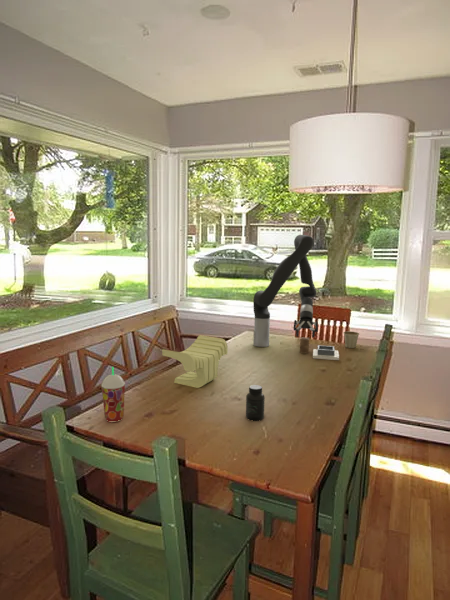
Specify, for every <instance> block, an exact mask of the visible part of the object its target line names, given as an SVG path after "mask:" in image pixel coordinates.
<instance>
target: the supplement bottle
mask: <svg viewBox="0 0 450 600" xmlns="http://www.w3.org/2000/svg"><path fill="white" fill-rule="evenodd" d="M245 397H246V398H245V418H246V419H247V420H248V419H249V420H248V421H251V420H253V421H252V422H259V420H260V421H263V419H264V418H265V403H266V402H265V398H266V397H265V394H264V393H263V387H262V386H261V385H258V384H251V385H249V388H248V393H246V396H245Z"/></svg>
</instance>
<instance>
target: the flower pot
mask: <svg viewBox="0 0 450 600" xmlns="http://www.w3.org/2000/svg"><path fill="white" fill-rule="evenodd" d="M342 333H343V336H344V344H345V345H344V346H345V348H349V349H355V348H357V343H358V339H359V335H360V332H358V331H350V330H349V331H348V330H347V331H343V332H342Z"/></svg>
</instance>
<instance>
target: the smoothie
mask: <svg viewBox="0 0 450 600" xmlns="http://www.w3.org/2000/svg"><path fill="white" fill-rule="evenodd" d="M114 370H115V368H114V366H111V374H108V375H107V376H106V377H105V378H104V379H103V381H102V383H101V384H100V386H101V392H102V402H103V412H104V418H105V420H108V421H118V420H121V419H122V420H123V418H124V415H125V393H126V382H125V380H124V379H123V377H122V376H121V375H119V374H116V373H115V371H114ZM122 420H121V421H122ZM108 421H107V422H108Z"/></svg>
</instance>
